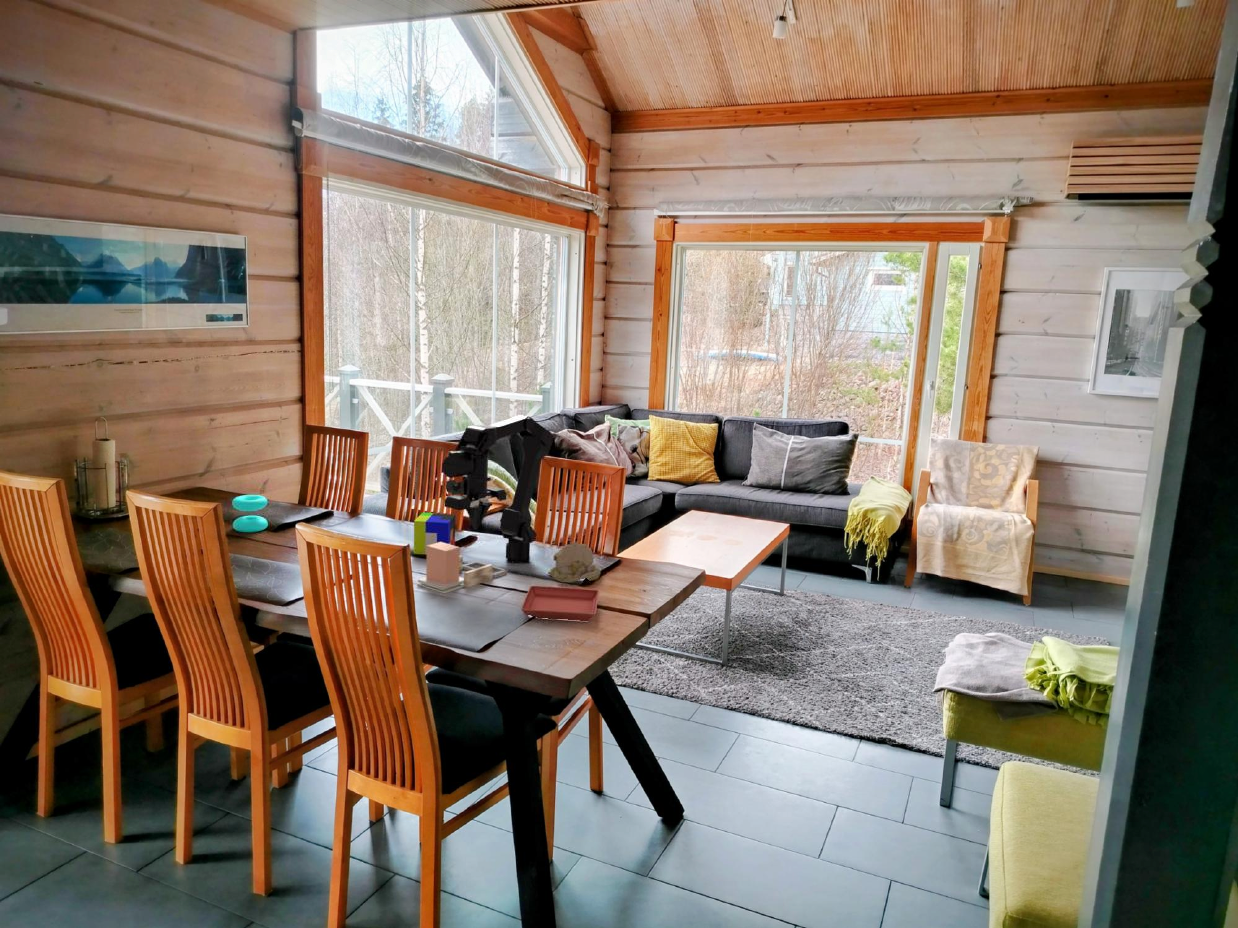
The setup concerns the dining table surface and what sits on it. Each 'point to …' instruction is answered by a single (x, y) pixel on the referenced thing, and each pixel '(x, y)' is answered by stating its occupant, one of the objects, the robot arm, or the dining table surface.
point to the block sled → (442, 566)
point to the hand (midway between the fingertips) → (475, 528)
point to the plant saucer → (560, 603)
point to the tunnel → (476, 574)
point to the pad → (441, 590)
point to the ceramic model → (574, 564)
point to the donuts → (250, 521)
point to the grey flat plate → (476, 564)
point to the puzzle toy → (433, 530)
